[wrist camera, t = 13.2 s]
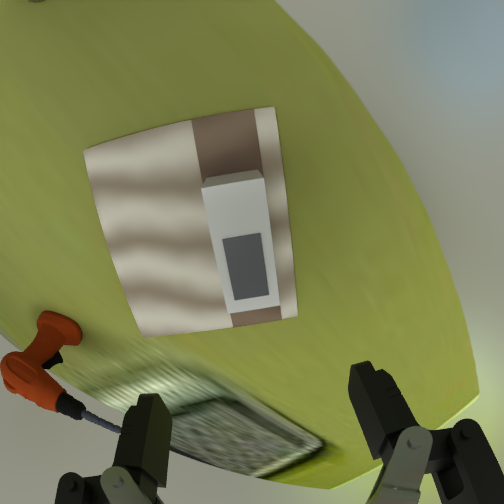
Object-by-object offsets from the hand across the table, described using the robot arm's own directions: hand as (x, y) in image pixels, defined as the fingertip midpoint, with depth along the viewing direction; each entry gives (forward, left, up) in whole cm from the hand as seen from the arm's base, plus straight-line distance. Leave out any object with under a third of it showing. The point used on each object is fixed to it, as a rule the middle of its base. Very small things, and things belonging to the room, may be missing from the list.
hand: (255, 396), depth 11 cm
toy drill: (+12, -25, -22) cm, 35 cm away
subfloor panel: (0, -5, -22) cm, 22 cm away
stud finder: (0, 0, -21) cm, 21 cm away
